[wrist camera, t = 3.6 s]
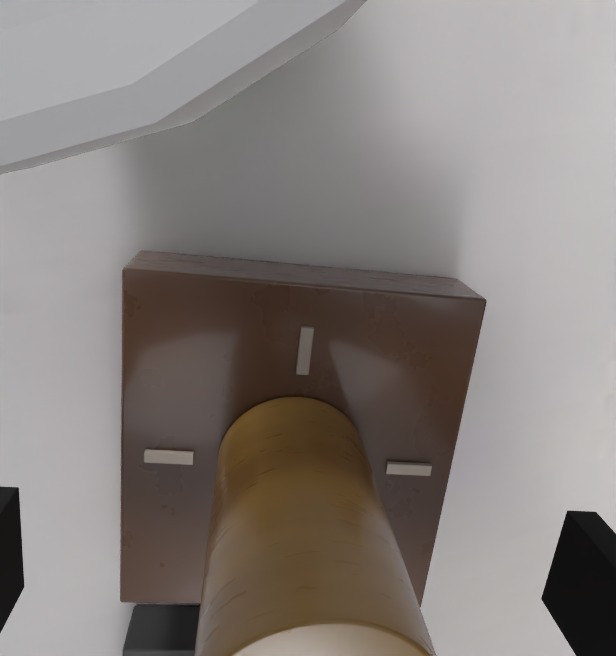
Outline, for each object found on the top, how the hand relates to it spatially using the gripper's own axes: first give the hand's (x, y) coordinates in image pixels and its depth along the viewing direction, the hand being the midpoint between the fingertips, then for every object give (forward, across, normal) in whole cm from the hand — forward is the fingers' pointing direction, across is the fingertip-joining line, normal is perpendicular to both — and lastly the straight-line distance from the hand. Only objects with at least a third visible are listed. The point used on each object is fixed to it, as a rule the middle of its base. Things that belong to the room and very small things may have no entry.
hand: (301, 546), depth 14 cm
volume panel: (+6, 0, 0) cm, 6 cm away
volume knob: (+4, 0, 0) cm, 4 cm away
